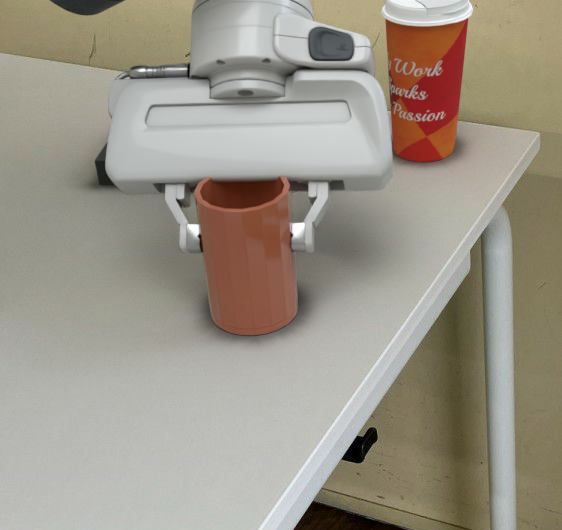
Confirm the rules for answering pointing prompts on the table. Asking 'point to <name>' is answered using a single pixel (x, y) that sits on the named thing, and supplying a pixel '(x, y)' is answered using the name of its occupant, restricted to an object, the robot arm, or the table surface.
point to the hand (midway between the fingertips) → (247, 251)
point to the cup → (248, 254)
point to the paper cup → (425, 74)
